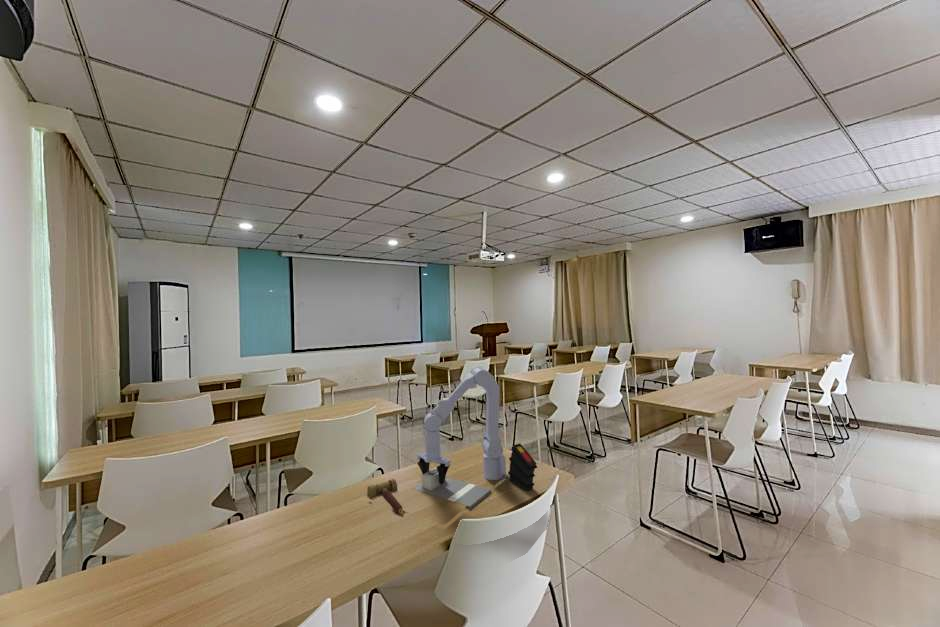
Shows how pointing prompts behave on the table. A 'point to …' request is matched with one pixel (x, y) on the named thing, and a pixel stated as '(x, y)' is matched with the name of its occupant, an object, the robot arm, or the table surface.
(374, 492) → the gavel
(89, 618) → the table surface
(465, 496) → the board
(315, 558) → the table surface
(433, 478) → the block
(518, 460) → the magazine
